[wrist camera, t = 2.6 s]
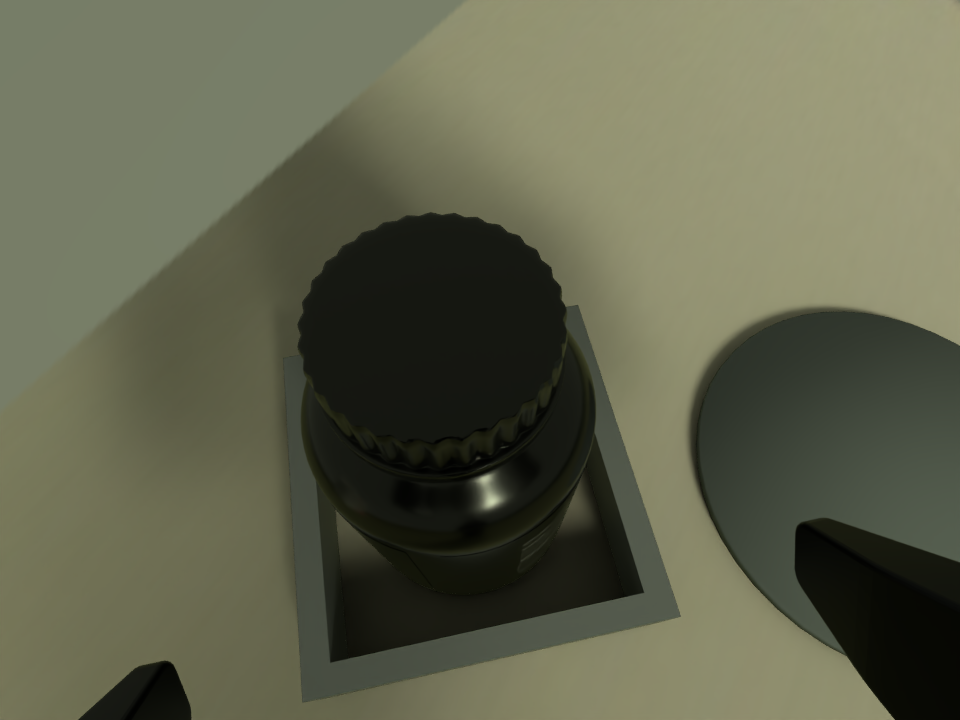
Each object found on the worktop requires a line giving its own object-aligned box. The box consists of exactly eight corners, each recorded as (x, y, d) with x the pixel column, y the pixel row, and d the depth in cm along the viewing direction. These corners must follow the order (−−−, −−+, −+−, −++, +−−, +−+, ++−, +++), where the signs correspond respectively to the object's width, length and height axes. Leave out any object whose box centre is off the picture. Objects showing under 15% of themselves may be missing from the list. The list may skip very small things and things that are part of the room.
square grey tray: (658, 622, 19) (680, 616, 17) (325, 698, 18) (302, 702, 16) (569, 338, 24) (577, 305, 22) (302, 388, 23) (283, 357, 21)
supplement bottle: (513, 379, 23) (535, 130, 12) (595, 548, 20) (719, 412, 9) (342, 444, 22) (204, 232, 11) (403, 633, 19) (294, 589, 8)
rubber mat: (1130, 448, 21) (1141, 444, 21) (1014, 787, 17) (1025, 790, 16) (794, 263, 25) (799, 258, 25) (626, 498, 21) (629, 495, 20)
